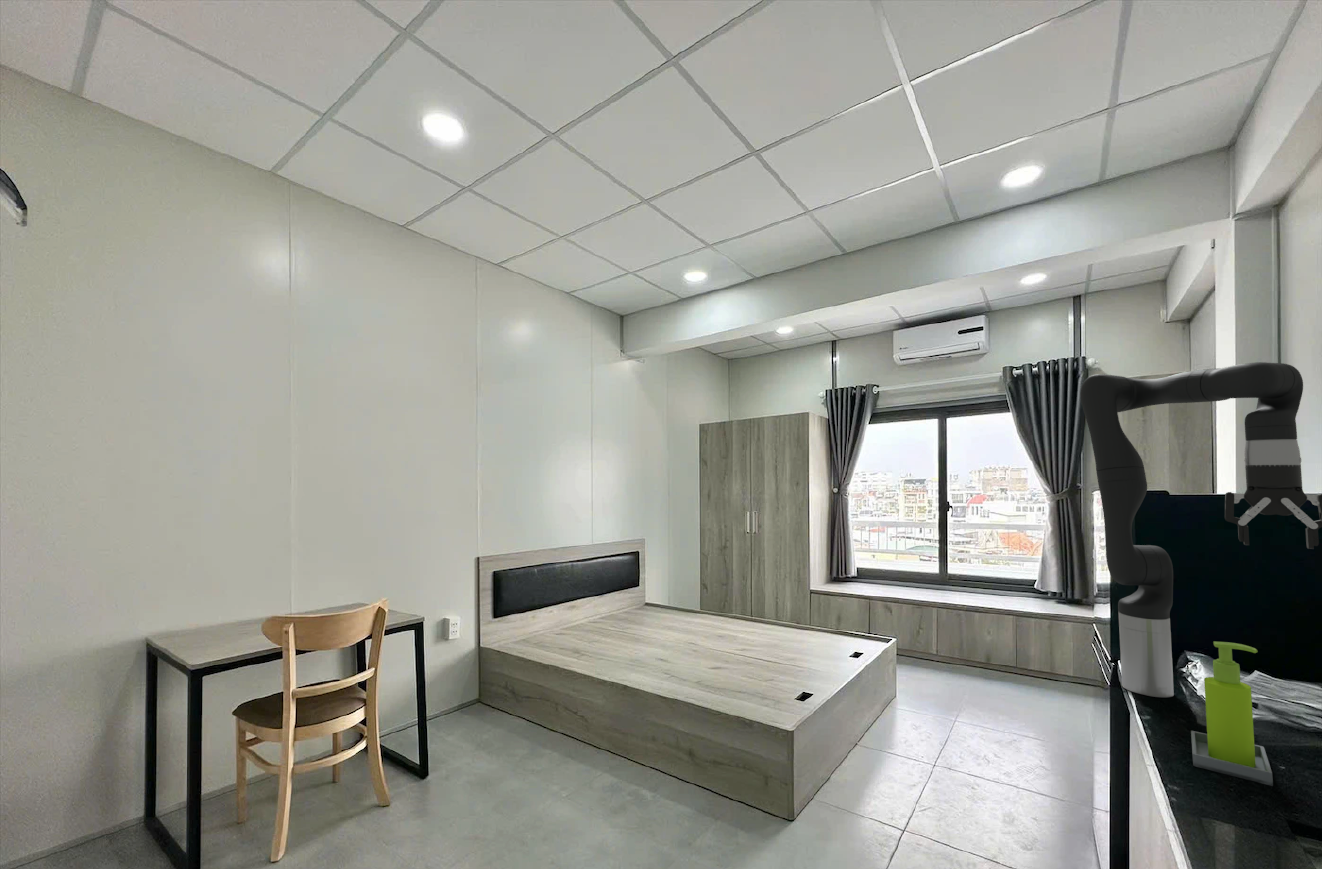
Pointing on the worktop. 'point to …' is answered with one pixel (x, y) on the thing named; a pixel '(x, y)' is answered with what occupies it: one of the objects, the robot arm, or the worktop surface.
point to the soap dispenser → (1229, 709)
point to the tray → (1204, 761)
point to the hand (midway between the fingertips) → (1277, 546)
